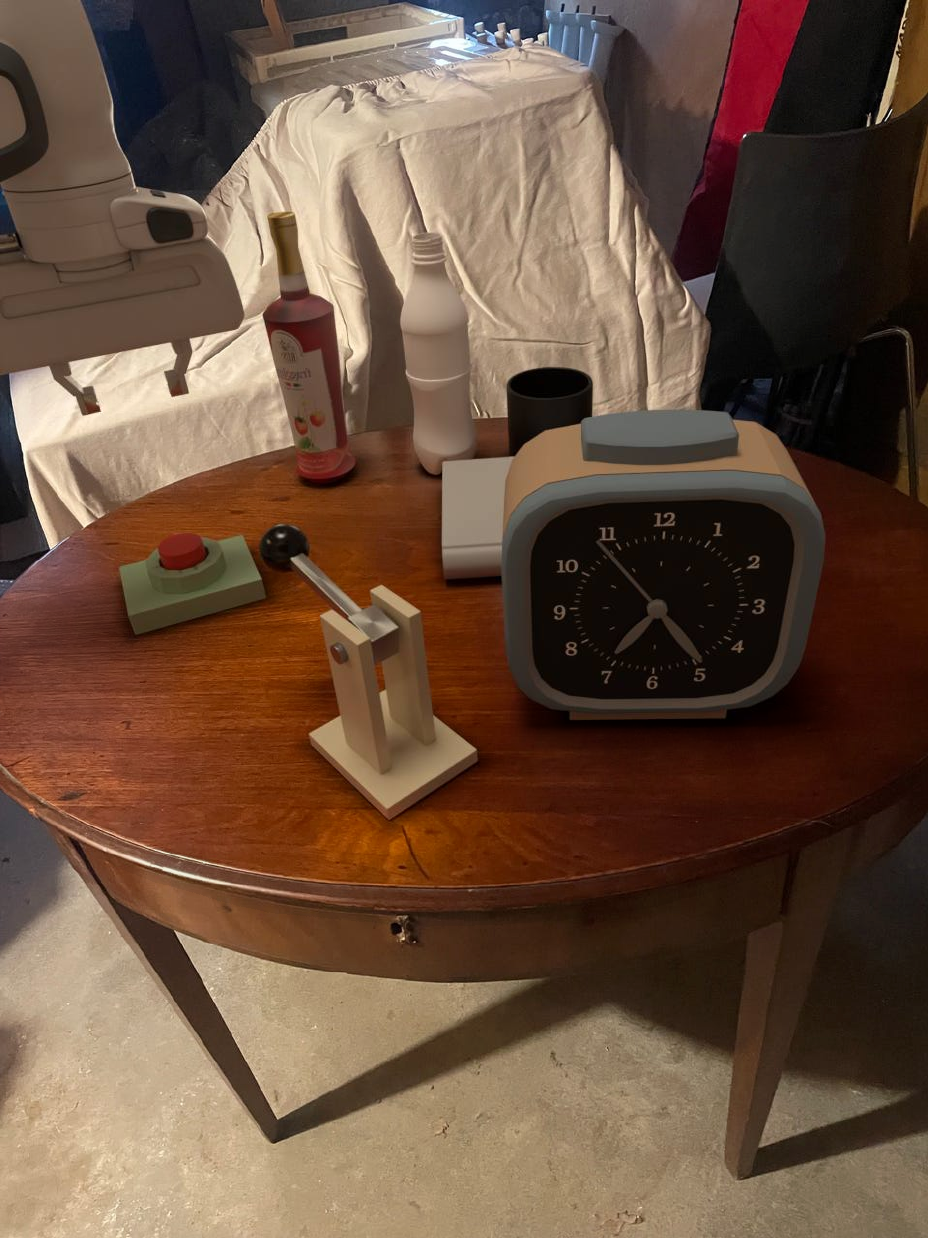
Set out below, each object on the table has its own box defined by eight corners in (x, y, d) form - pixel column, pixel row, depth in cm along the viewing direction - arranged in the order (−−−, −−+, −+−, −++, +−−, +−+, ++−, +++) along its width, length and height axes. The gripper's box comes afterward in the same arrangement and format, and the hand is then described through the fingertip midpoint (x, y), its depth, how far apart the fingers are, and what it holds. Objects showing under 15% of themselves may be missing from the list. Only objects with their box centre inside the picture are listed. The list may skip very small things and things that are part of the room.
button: (166, 576, 79) (160, 560, 78) (160, 555, 82) (155, 539, 81) (210, 564, 80) (205, 548, 79) (202, 544, 83) (198, 528, 82)
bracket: (310, 745, 66) (277, 607, 58) (396, 695, 70) (375, 559, 62) (389, 820, 59) (363, 677, 52) (478, 761, 63) (466, 619, 56)
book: (442, 461, 94) (667, 445, 93) (445, 492, 96) (665, 477, 95) (441, 552, 79) (709, 534, 78) (445, 587, 81) (704, 570, 81)
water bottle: (409, 458, 103) (383, 233, 88) (467, 447, 105) (451, 223, 90) (425, 485, 98) (400, 249, 83) (486, 472, 99) (472, 238, 84)
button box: (135, 635, 79) (122, 599, 76) (125, 585, 85) (113, 550, 83) (266, 598, 82) (257, 562, 79) (247, 553, 89) (238, 518, 86)
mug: (549, 425, 108) (549, 353, 103) (608, 461, 99) (610, 384, 94) (483, 446, 105) (479, 372, 99) (537, 484, 96) (536, 406, 91)
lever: (252, 564, 65) (246, 526, 62) (294, 545, 67) (290, 507, 64) (364, 678, 58) (362, 640, 55) (407, 653, 59) (408, 616, 57)
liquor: (370, 465, 103) (333, 207, 86) (336, 494, 97) (290, 225, 81) (318, 456, 105) (272, 204, 89) (283, 484, 100) (227, 222, 84)
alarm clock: (509, 730, 66) (495, 469, 53) (511, 650, 73) (499, 405, 60) (792, 727, 64) (849, 457, 51) (763, 645, 71) (807, 392, 58)
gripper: (-77, 256, 59) (1, 445, 67) (225, 209, 64) (264, 389, 73) (-71, 237, 64) (2, 416, 72) (211, 195, 69) (248, 365, 77)
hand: (136, 402), depth 72 cm, fingers open, 6 cm apart
